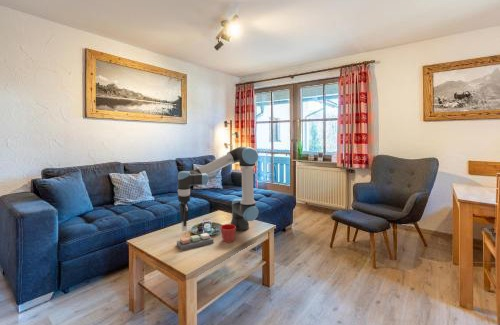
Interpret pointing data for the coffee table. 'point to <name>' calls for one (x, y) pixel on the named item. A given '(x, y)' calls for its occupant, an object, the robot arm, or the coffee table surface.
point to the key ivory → (205, 236)
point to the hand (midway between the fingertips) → (184, 230)
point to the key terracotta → (185, 240)
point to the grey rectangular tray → (194, 243)
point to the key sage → (195, 238)
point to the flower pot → (228, 232)
